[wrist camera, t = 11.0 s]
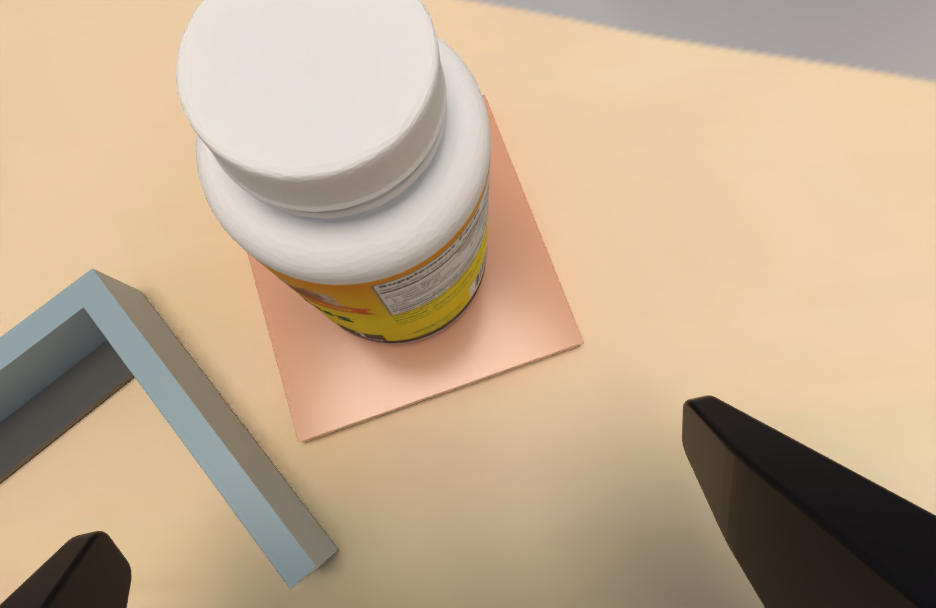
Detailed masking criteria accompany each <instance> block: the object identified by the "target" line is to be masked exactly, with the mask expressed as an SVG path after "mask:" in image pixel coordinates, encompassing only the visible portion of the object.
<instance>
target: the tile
mask: <svg viewBox="0 0 936 608" xmlns="http://www.w3.org/2000/svg"><path fill="white" fill-rule="evenodd" d="M482 96H483V99H484V102H485V105H486V109H487V113H488V119H489V125H490V139H491V157H490V183H489V209H488V237H487V253H486V265H485V271H484V275H483V279H482V281H481V284H480V287H479V289H478V291H477V294H476V295H475V297H474V299H473V301H472V302H471V304H470V305H469V307H468V308H467V309H466V310H465V311H464V313H463V314H462V315H461V316H460V317H459V318H458V319H457V320H455V321H454V322H453V323H452V324H451V325H449V326H448V327H447V328H445V329H443V330H442V331H440V332H438V333H436V334H434V335H432V336H430V337H428V338H425V339H422V340H418V341H414V342H409V343H402V344H384V343H378V342H373V341H369V340H365V339H363V338H360V337H357V336H355V335H353V334H351V333H349V332H347V331H346V330H344V329H342V328H341V327H339V326H338V325H337V324H335V323H334V322H332V321H331V320H330V319H329V318H328V317H326V316H325V315H324V314H323V313H322V312H320V311H319V310H318V309H317V308H315V307H314V306H313V305H311V304H310V303H309V302H307V301H306V300H305V299H304V298H303V297H301V296H300V295H299V294H298V293H297V292H295V291H294V290H293V289H291V288H290V287H289V286H288V285H287V284H285V283H284V282H283V281H281V280H280V279H279V278H278V277H277V276H276V275H274V274H273V273H272V272H271V271H270V270H268V269H267V268H266V267H265V266H263V265H262V264H261V263H260V262H259V261H257V260H256V259H255V258H254V257H252V256H251V255H250V254H249V253H247V254H248V257H249V261H250V265H251V268H252V272H253V276H254V280H255V283H256V287H257V291H258V294H259V298H260V302H261V305H262V309H263V313H264V316H265V320H266V324H267V328H268V331H269V335H270V339H271V342H272V346H273V350H274V353H275V357H276V361H277V364H278V368H279V372H280V376H281V379H282V383H283V387H284V390H285V394H286V398H287V401H288V405H289V409H290V413H291V416H292V420H293V424H294V427H295V431H296V435H297V438H298V442H307V441H310V440H313V439H315V438H318V437H321V436H324V435H327V434H330V433H333V432H335V431H338V430H341V429H344V428H347V427H350V426H353V425H355V424H358V423H361V422H364V421H367V420H370V419H372V418H375V417H378V416H381V415H384V414H387V413H390V412H392V411H395V410H398V409H401V408H404V407H407V406H410V405H412V404H415V403H418V402H421V401H424V400H427V399H430V398H432V397H435V396H438V395H441V394H444V393H447V392H450V391H452V390H455V389H458V388H461V387H464V386H467V385H469V384H472V383H475V382H478V381H481V380H484V379H487V378H489V377H492V376H495V375H498V374H501V373H504V372H507V371H509V370H512V369H515V368H518V367H521V366H524V365H527V364H529V363H532V362H535V361H538V360H541V359H544V358H547V357H549V356H552V355H555V354H558V353H561V352H564V351H566V350H569V349H572V348H575V347H578V346H581V345H582V344H583V343H584V342H583V339H582V337H581V334H580V332H579V329H578V327H577V324H576V322H575V319H574V317H573V314H572V312H571V309H570V307H569V304H568V302H567V299H566V297H565V294H564V292H563V289H562V287H561V284H560V282H559V279H558V277H557V274H556V272H555V269H554V267H553V264H552V262H551V259H550V257H549V254H548V252H547V249H546V247H545V244H544V242H543V239H542V237H541V234H540V232H539V229H538V227H537V224H536V222H535V219H534V217H533V214H532V212H531V209H530V207H529V204H528V202H527V199H526V197H525V194H524V192H523V189H522V187H521V184H520V182H519V179H518V177H517V174H516V172H515V169H514V167H513V164H512V162H511V159H510V157H509V154H508V152H507V149H506V147H505V144H504V142H503V139H502V137H501V134H500V132H499V129H498V127H497V124H496V122H495V119H494V117H493V114H492V112H491V109H490V107H489V104H488V102H487V99H486V97H485V95H482Z"/></svg>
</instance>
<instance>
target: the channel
mask: <svg viewBox="0 0 936 608" xmlns="http://www.w3.org/2000/svg"><path fill="white" fill-rule="evenodd" d="M134 377H135V378H136V379H137V381H138V382H139V383H140V385H141V386H142V388H143V389H144V390H145V392H146V393H147V394H148V396H149V397H150V398H151V400H152V401H153V403H154V404H155V405H156V407H157V408H158V409H159V411H160V412H161V413H162V415H163V416H164V418H165V419H166V420H167V422H168V423H169V424H170V426H171V427H172V428H173V430H174V431H175V433H176V434H177V435H178V437H179V438H180V439H181V441H182V442H183V443H184V445H185V446H186V448H187V449H188V450H189V452H190V453H191V454H192V456H193V457H194V458H195V460H196V461H197V463H198V464H199V465H200V467H201V468H202V469H203V471H204V472H205V473H206V475H207V476H208V478H209V479H210V480H211V482H212V483H213V484H214V486H215V487H216V488H217V490H218V491H219V492H220V494H221V495H222V497H223V498H224V499H225V501H226V502H227V503H228V505H229V506H230V507H231V509H232V510H233V512H234V513H235V514H236V516H237V517H238V518H239V520H240V521H241V522H242V524H243V525H244V527H245V528H246V529H247V531H248V532H249V533H250V535H251V536H252V537H253V539H254V540H255V542H256V543H257V544H258V546H259V547H260V548H261V550H262V551H263V552H264V554H265V555H266V557H267V558H268V559H269V561H270V562H271V563H272V565H273V566H274V567H275V569H276V570H277V572H278V573H279V574H280V576H281V577H282V578H283V580H284V581H285V582H286V584H287V585H288V587H289V588H290V589H291V588H293V587H294V586H295V585H297V584H298V583H299V582H301V581H302V580H303V579H305V578H306V577H307V576H309V575H310V574H311V573H313V572H314V571H316V570H317V569H318V568H319V567H320V566H321V565H322V564H324V563H325V562H326V561H327V560H328V559H329V558H330V557H331V556H332V555H334V554H335V553H336V552H337V551H338V548H337V547H336V546H335V545H334V543H333V542H332V541H331V539H330V538H329V537H328V535H327V534H326V533H325V531H324V530H323V529H322V528H321V526H320V525H319V524H318V522H317V521H316V520H315V518H314V517H313V516H312V514H311V513H310V512H309V511H308V509H307V508H306V507H305V505H304V504H303V503H302V501H301V500H300V499H299V497H298V496H297V495H296V494H295V492H294V491H293V490H292V488H291V487H290V486H289V484H288V483H287V482H286V480H285V479H284V478H283V476H282V475H281V474H280V473H279V471H278V470H277V469H276V467H275V466H274V465H273V463H272V462H271V461H270V459H269V458H268V457H267V456H266V454H265V453H264V452H263V450H262V449H261V448H260V446H259V445H258V444H257V442H256V441H255V440H254V439H253V437H252V436H251V435H250V433H249V432H248V431H247V429H246V428H245V427H244V425H243V424H242V423H241V422H240V420H239V419H238V418H237V416H236V415H235V414H234V412H233V411H232V410H231V408H230V407H229V406H228V405H227V403H226V402H225V401H224V399H223V398H222V397H221V395H220V394H219V393H218V391H217V390H216V389H215V387H214V386H213V385H212V384H211V382H210V381H209V380H208V378H207V377H206V376H205V374H204V373H203V372H202V370H201V369H200V368H199V367H198V365H197V364H196V363H195V361H194V360H193V359H192V357H191V356H190V355H189V353H188V352H187V351H186V350H185V348H184V347H183V346H182V344H181V343H180V342H179V340H178V339H177V338H176V336H175V335H174V334H173V333H172V331H171V330H170V329H169V327H168V326H167V325H166V323H165V322H164V321H163V319H162V318H161V317H160V316H159V314H158V313H157V312H156V310H155V309H154V308H153V306H152V305H151V304H150V302H149V301H148V300H147V298H146V297H145V296H144V295H143V293H142V292H141V291H139V290H137V289H135V288H133V287H131V286H129V285H127V284H124V283H122V282H120V281H118V280H116V279H114V278H112V277H109V276H107V275H105V274H103V273H101V272H99V271H97V270H95V269H91V270H90V271H88V272H87V273H86V274H84V275H83V276H82V277H80V278H79V279H78V280H76V281H75V282H74V283H72V284H71V285H70V286H68V287H67V288H66V289H64V290H63V291H62V292H60V293H59V294H58V295H56V296H55V297H54V298H52V299H51V300H50V301H48V302H47V303H46V304H44V305H43V306H42V307H40V308H39V309H38V310H36V311H35V312H34V313H32V314H31V315H30V316H28V317H27V318H26V319H24V320H23V321H22V322H20V323H19V324H18V325H16V326H15V327H14V328H12V329H11V330H10V331H8V332H7V333H6V334H4V335H3V336H2V337H0V483H1V482H2V481H4V480H5V479H6V478H7V477H9V476H10V475H11V474H12V473H14V472H15V471H16V470H18V469H19V468H20V467H21V466H23V465H24V464H25V463H26V462H28V461H29V460H30V459H31V458H33V457H34V456H35V455H36V454H38V453H39V452H40V451H42V450H43V449H44V448H45V447H47V446H48V445H49V444H50V443H52V442H53V441H54V440H55V439H57V438H58V437H59V436H60V435H62V434H63V433H64V432H66V431H67V430H68V429H69V428H71V427H72V426H73V425H74V424H76V423H77V422H78V421H79V420H81V419H82V418H83V417H85V416H86V415H87V414H88V413H90V412H91V411H92V410H93V409H95V408H96V407H97V406H98V405H100V404H101V403H102V402H103V401H105V400H106V399H107V398H109V397H110V396H111V395H112V394H114V393H115V392H116V391H117V390H119V389H120V388H121V387H122V386H124V385H125V384H126V383H127V382H129V381H130V380H131V379H133V378H134Z"/></svg>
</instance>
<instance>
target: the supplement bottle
mask: <svg viewBox="0 0 936 608" xmlns="http://www.w3.org/2000/svg"><path fill="white" fill-rule="evenodd" d="M177 86H178V93H179V97H180V100H181V104H182V107H183V109H184V111H185V114H186V116H187V118H188V120H189V122H190V124H191V126H192V128H193V129H194V131H195V132H196V133H197V140H196V158H197V167H198V173H199V178H200V181H201V185H202V188H203V191H204V194H205V197H206V199H207V201H208V204H209V206H210V208H211V210H212V211H213V213H214V215H215V216H216V218H217V219H218V221H219V222H220V224H221V225H222V226H223V228H224V229H225V230H226V231H227V233H228V234H229V235H230V236H231V237H232V238H233V239H234V240H235V241H236V242H237V243H238V244H239V245H240V246H241V247H242V248H243V249H244V250H245V251H246V252H247V253H249V254H250V255H251V256H252V257H254V258H255V259H256V260H257V261H259V262H260V263H261V264H262V265H263V266H265V267H266V268H267V269H268V270H270V271H271V272H272V273H273V274H274V275H276V276H277V277H278V278H279V279H280V280H281V281H283V282H284V283H285V284H287V285H288V286H289V287H290V288H291V289H293V290H294V291H295V292H297V293H298V294H299V295H300V296H301V297H303V298H304V299H305V300H306V301H307V302H309V303H310V304H311V305H313V306H314V307H315V308H317V309H318V310H319V311H320V312H322V313H323V314H324V315H325V316H326V317H328V318H329V319H330V320H331V321H332V322H334V323H335V324H337V325H338V326H339V327H341V328H342V329H344V330H346V331H347V332H349V333H351V334H353V335H355V336H357V337H360V338H363V339H365V340H369V341H373V342H378V343H384V344H402V343H409V342H414V341H418V340H422V339H425V338H428V337H430V336H432V335H434V334H436V333H438V332H440V331H442V330H443V329H445V328H447V327H448V326H449V325H451V324H452V323H453V322H454V321H455V320H457V319H458V318H459V317H460V316H461V315H462V314H463V313H464V311H465V310H466V309H467V308H468V307H469V305H470V304H471V302H472V301H473V299H474V297H475V295H476V294H477V291H478V289H479V287H480V284H481V281H482V279H483V275H484V271H485V265H486V253H487V237H488V209H489V183H490V157H491V139H490V125H489V119H488V113H487V109H486V105H485V102H484V99H483V96H482V94H481V91H480V89H479V87H478V84H477V82H476V80H475V78H474V77H473V75H472V73H471V72H470V70H469V69H468V67H467V66H466V65H465V63H464V62H463V61H462V59H461V58H460V57H459V56H458V54H457V53H456V52H455V51H454V50H453V49H452V48H451V47H450V46H449V45H448V44H447V43H445V42H444V41H443V40H442V39H440V38H439V37H438V36H436V32H435V29H434V25H433V22H432V20H431V18H430V16H429V13H428V11H427V10H426V8H425V6H424V5H423V3H422V1H421V0H204V1H203V2H202V3H201V5H200V6H199V7H198V9H197V10H196V12H195V13H194V15H193V16H192V18H191V20H190V22H189V24H188V26H187V28H186V30H185V33H184V35H183V38H182V41H181V45H180V48H179V53H178V59H177Z"/></svg>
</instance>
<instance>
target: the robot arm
mask: <svg viewBox="0 0 936 608" xmlns="http://www.w3.org/2000/svg"><path fill="white" fill-rule="evenodd" d="M682 442H683V447H684V450H685V453H686V456H687V458H688V460H689V462H690V464H691V467H692V469H693V471H694V473H695V475H696V478H697V480H698V482H699V484H700V486H701V488H702V491H703V493H704V495H705V497H706V499H707V502H708V504H709V506H710V508H711V510H712V512H713V515H714V517H715V519H716V521H717V523H718V526H719V528H720V530H721V532H722V534H723V536H724V538H725V540H726V542H727V544H728V546H729V547H730V549H731V551H732V553H733V555H734V556H735V558H736V560H737V561H738V563H739V565H740V566H741V568H742V570H743V571H744V573H745V575H746V576H747V578H748V580H749V581H750V583H751V585H752V587H753V588H754V590H755V592H756V593H757V595H758V597H759V598H760V600H761V602H762V603H763V605H764V607H765V608H936V515H934V514H932V513H930V512H928V511H926V510H925V509H923V508H921V507H919V506H917V505H915V504H913V503H912V502H910V501H908V500H906V499H904V498H902V497H900V496H898V495H897V494H895V493H893V492H891V491H889V490H887V489H885V488H884V487H882V486H880V485H878V484H876V483H874V482H872V481H871V480H869V479H867V478H865V477H863V476H861V475H859V474H857V473H856V472H854V471H852V470H850V469H848V468H846V467H844V466H843V465H841V464H839V463H837V462H835V461H833V460H831V459H830V458H828V457H826V456H824V455H822V454H820V453H818V452H817V451H815V450H813V449H811V448H809V447H807V446H805V445H803V444H802V443H800V442H798V441H796V440H794V439H792V438H790V437H789V436H787V435H785V434H783V433H781V432H779V431H777V430H776V429H774V428H772V427H770V426H768V425H766V424H764V423H762V422H761V421H759V420H757V419H755V418H753V417H751V416H749V415H748V414H746V413H744V412H742V411H740V410H738V409H736V408H735V407H733V406H731V405H729V404H727V403H725V402H723V401H721V400H720V399H718V398H716V397H713V396H702V397H698V398H693V399H689V400H687V401H686V402H685V403H684V405H683V423H682ZM130 585H131V568H130V565H129V563H128V561H127V560H126V558H125V557H124V556H123V554H122V553H121V551H120V550H119V549H118V547H117V546H116V545H115V543H114V542H113V540H112V539H111V538H110V536H109V535H108V534H107V533H105V532H103V531H96V532H91V533H87V534H82V535H78V536H75V537H73V538H71V539H70V540H69V541H68V542H66V543H65V544H64V545H63V546H62V547H61V548H60V549H59V550H58V551H57V552H56V553H55V554H54V555H53V556H52V557H50V558H49V559H48V560H47V561H46V562H45V563H44V564H43V565H42V566H41V567H40V568H39V569H38V570H37V571H36V572H35V573H33V574H32V575H31V576H30V577H29V578H28V579H27V580H26V581H25V582H24V583H23V584H22V585H21V586H20V587H19V588H18V589H16V590H15V591H14V592H13V593H12V594H11V595H10V596H9V597H8V598H7V599H6V600H5V601H4V602H3V603H2V604H1V605H0V608H127V602H128V596H129V590H130Z"/></svg>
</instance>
